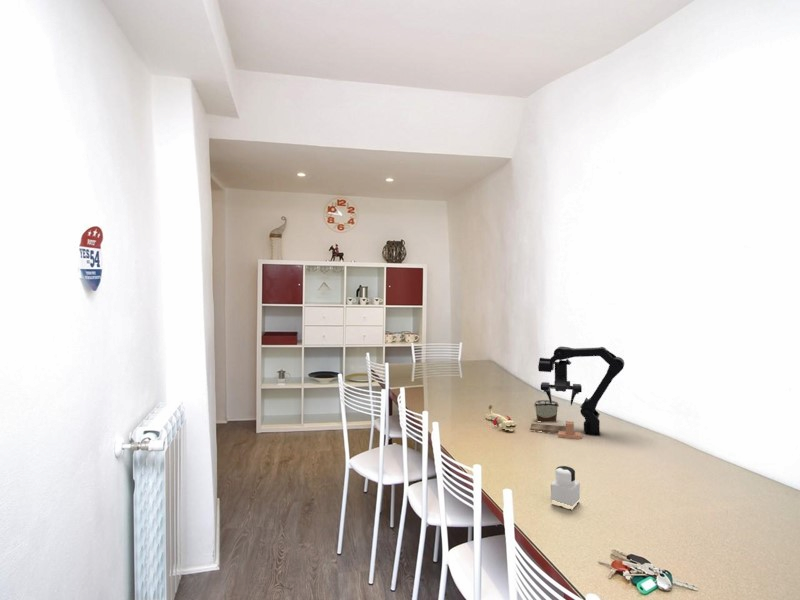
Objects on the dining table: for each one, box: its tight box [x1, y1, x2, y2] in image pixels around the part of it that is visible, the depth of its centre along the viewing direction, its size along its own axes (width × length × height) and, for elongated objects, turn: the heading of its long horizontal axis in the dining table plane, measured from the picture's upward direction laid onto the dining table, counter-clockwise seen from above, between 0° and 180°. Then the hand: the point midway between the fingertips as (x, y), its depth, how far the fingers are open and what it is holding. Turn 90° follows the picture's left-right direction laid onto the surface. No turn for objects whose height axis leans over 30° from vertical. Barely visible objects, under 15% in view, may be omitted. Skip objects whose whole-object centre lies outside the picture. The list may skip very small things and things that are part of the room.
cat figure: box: [485, 404, 518, 431], centre depth 239 cm, size 10×9×25 cm
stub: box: [557, 420, 582, 440], centre depth 220 cm, size 10×4×6 cm, turn 70°
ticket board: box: [529, 422, 566, 434], centre depth 229 cm, size 17×8×2 cm, turn 70°
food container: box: [533, 399, 560, 423], centre depth 245 cm, size 12×6×10 cm, turn 84°
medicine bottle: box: [550, 465, 581, 506], centre depth 156 cm, size 7×7×12 cm
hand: (561, 404), depth 230 cm, fingers open, 9 cm apart
